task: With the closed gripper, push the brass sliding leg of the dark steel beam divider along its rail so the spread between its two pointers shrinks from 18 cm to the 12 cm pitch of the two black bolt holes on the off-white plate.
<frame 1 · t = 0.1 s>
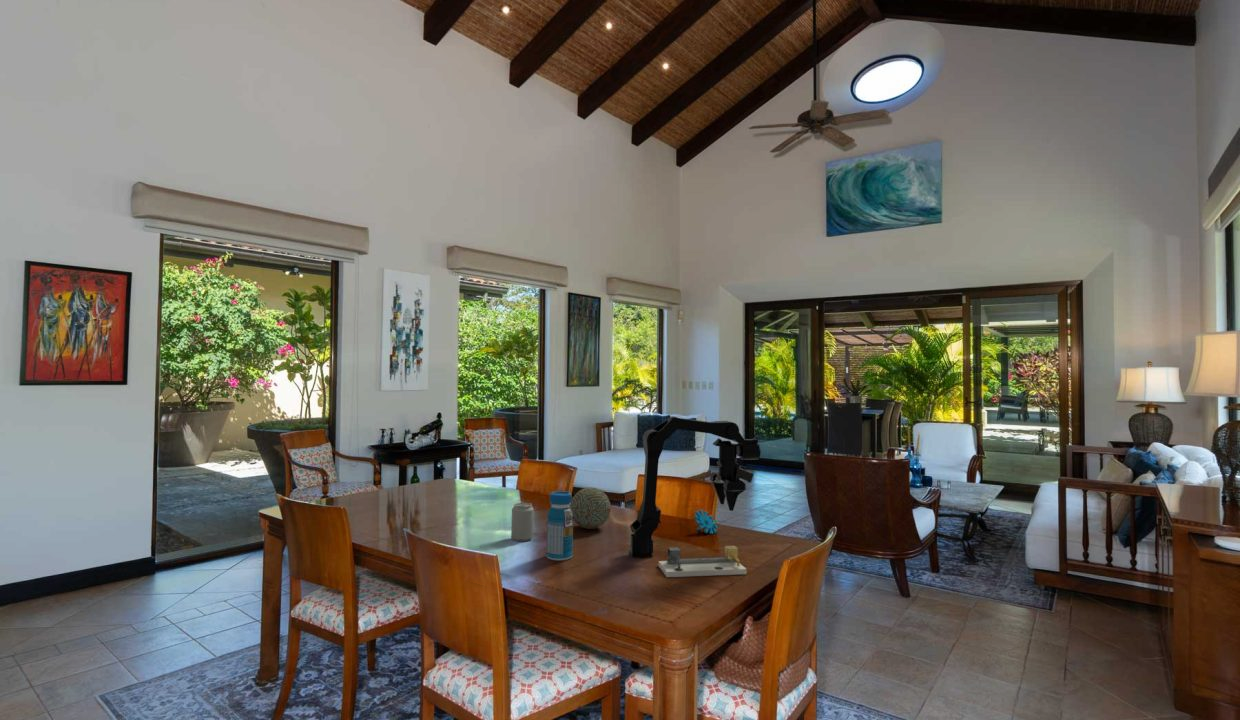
hand: (726, 507, 208), 15 cm above the table, fingers open, 9 cm apart
gear: (706, 532, 233), on the table
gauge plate: (701, 570, 189), on the table
beverage bottle: (559, 557, 198), on the table
decorative sphere: (589, 528, 234), on the table
can: (522, 539, 218), on the table
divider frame: (705, 557, 189), on the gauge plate, point 4 cm above the table
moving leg: (734, 555, 190), point 4 cm above the table, slide at 6.0 cm
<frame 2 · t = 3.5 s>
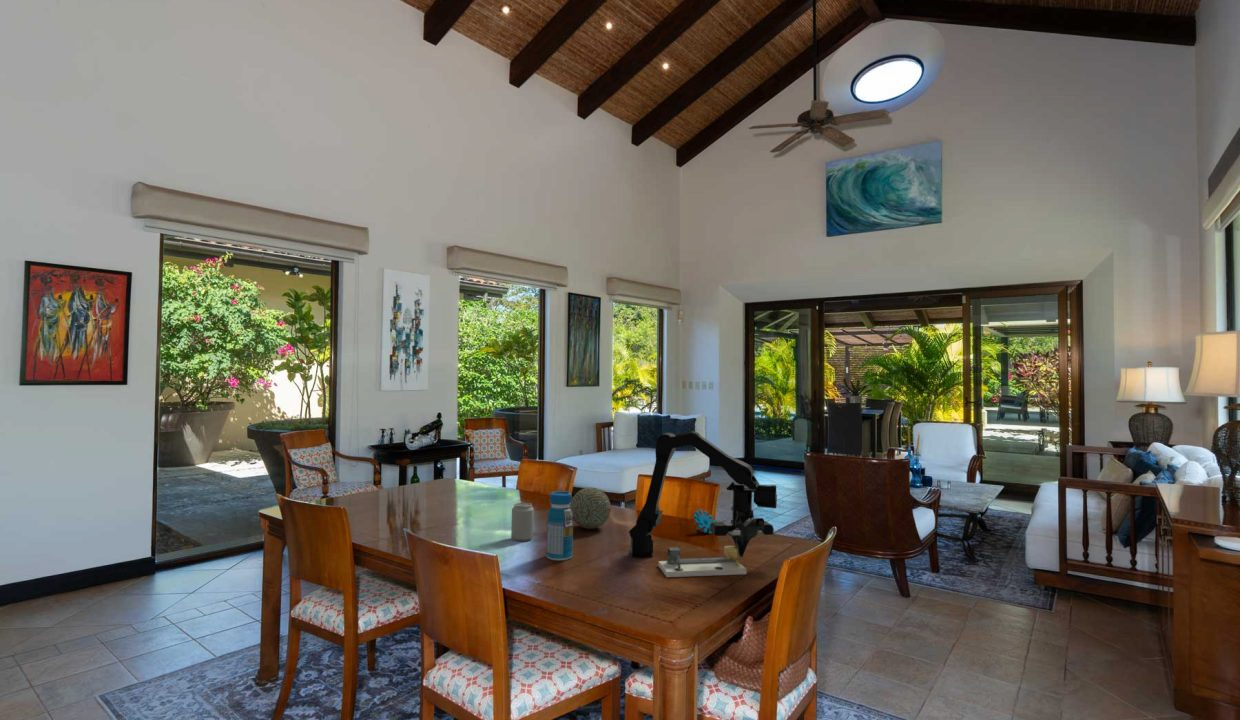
hand: (740, 556, 193), 3 cm above the table, fingers closed
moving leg: (733, 555, 190), point 4 cm above the table, slide at 5.8 cm, touching gripper
everything else where it was.
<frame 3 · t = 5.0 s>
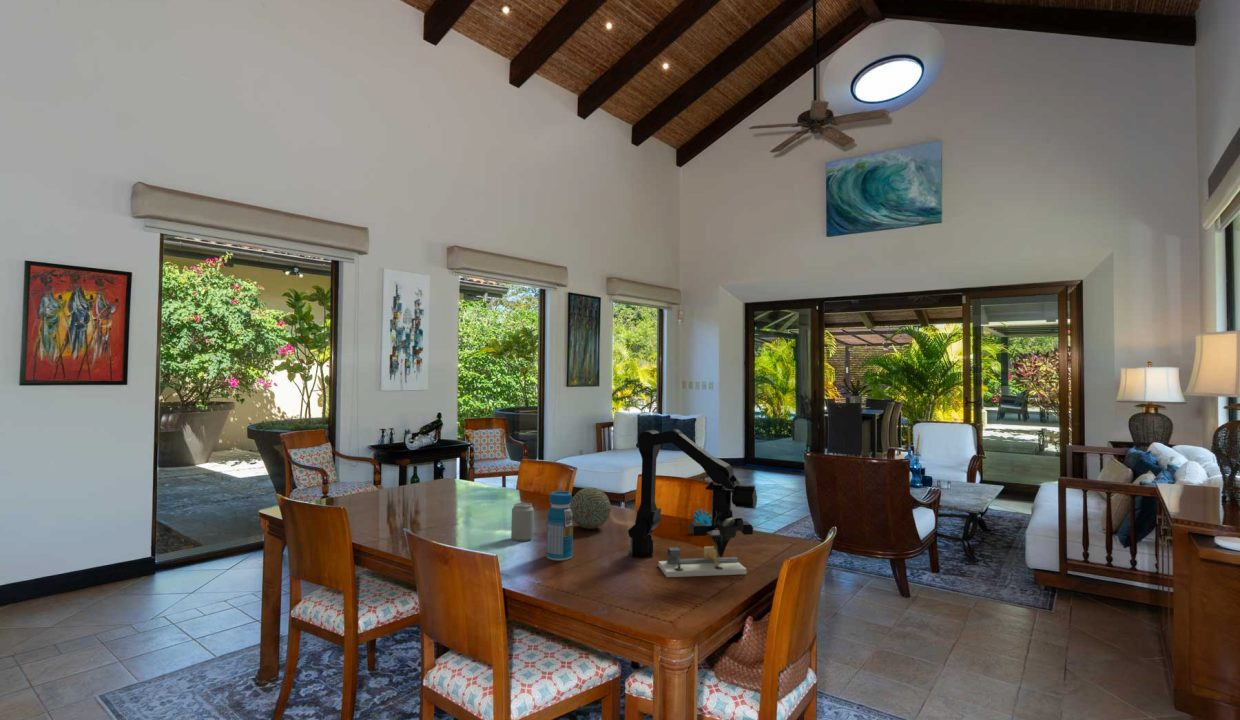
hand: (720, 556, 192), 3 cm above the table, fingers closed
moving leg: (712, 556, 189), point 4 cm above the table, slide at -0.7 cm, touching gripper
everything else where it was.
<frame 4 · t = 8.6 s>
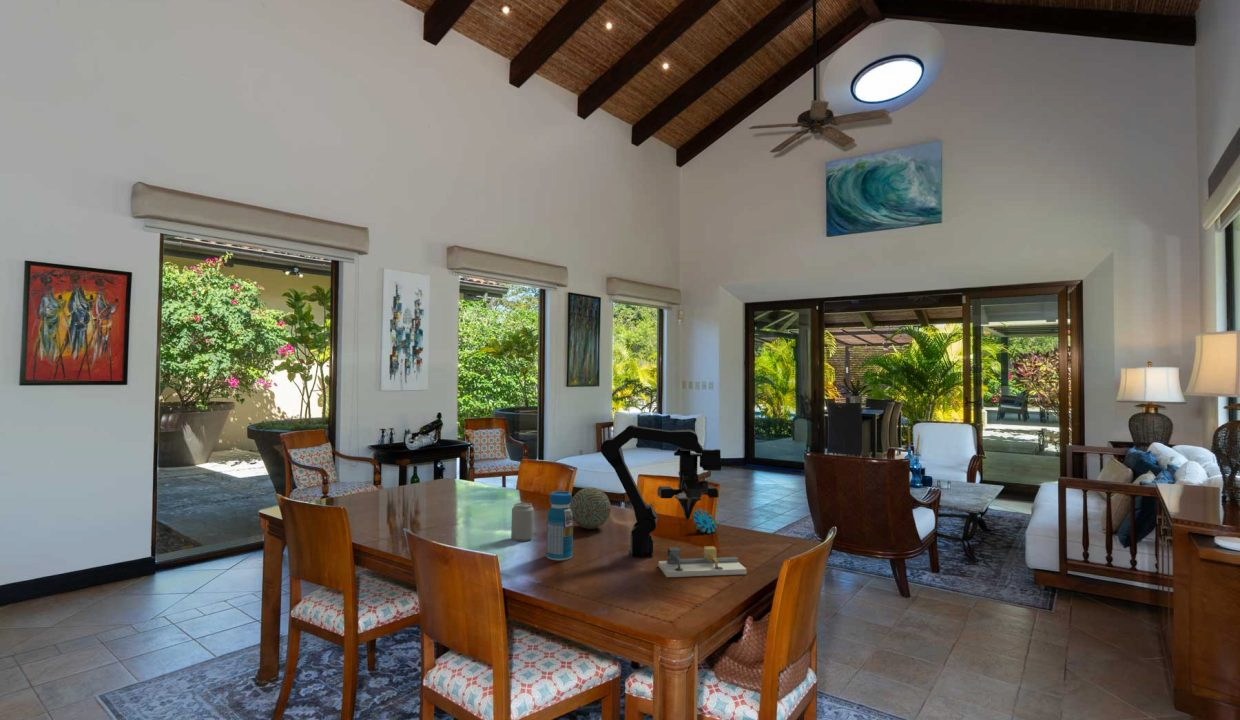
hand: (687, 519, 201), 12 cm above the table, fingers closed
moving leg: (712, 556, 189), point 4 cm above the table, slide at -0.7 cm
everything else where it was.
at the end: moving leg slide at -0.7 cm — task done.
